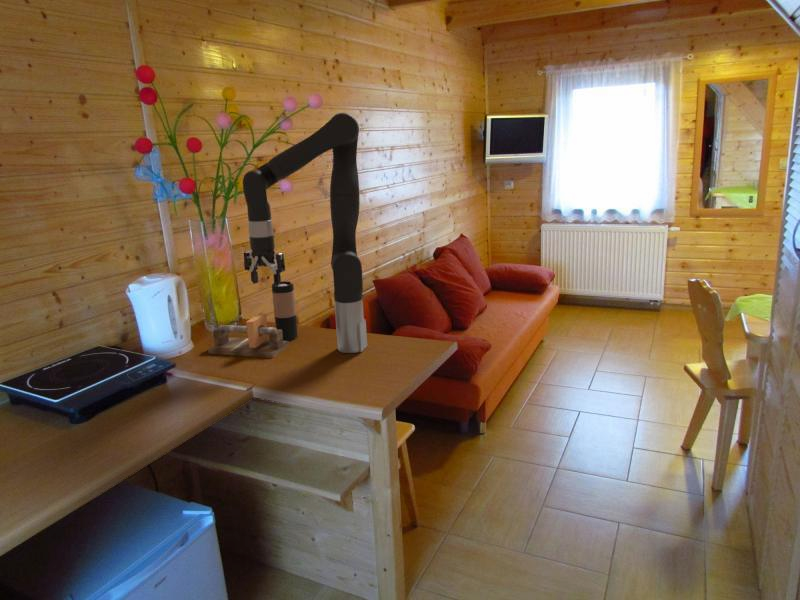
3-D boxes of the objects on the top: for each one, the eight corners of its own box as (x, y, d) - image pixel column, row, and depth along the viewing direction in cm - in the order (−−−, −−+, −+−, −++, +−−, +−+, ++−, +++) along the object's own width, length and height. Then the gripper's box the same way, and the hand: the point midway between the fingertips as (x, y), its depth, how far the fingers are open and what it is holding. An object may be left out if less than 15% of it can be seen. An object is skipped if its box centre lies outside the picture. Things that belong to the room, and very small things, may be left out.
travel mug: (273, 341, 200) (267, 286, 194) (281, 334, 207) (276, 281, 202) (294, 341, 199) (288, 286, 193) (301, 334, 206) (296, 281, 200)
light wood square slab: (268, 338, 195) (266, 313, 193) (255, 347, 187) (252, 321, 184) (262, 338, 196) (259, 313, 193) (249, 347, 187) (246, 321, 185)
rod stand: (289, 345, 195) (287, 322, 193) (273, 357, 184) (270, 333, 182) (228, 341, 202) (225, 319, 199) (208, 353, 190) (205, 330, 188)
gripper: (287, 233, 179) (291, 282, 183) (250, 231, 184) (255, 279, 189) (273, 237, 172) (277, 288, 177) (235, 235, 178) (241, 285, 182)
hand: (266, 284), depth 183 cm, fingers open, 8 cm apart
